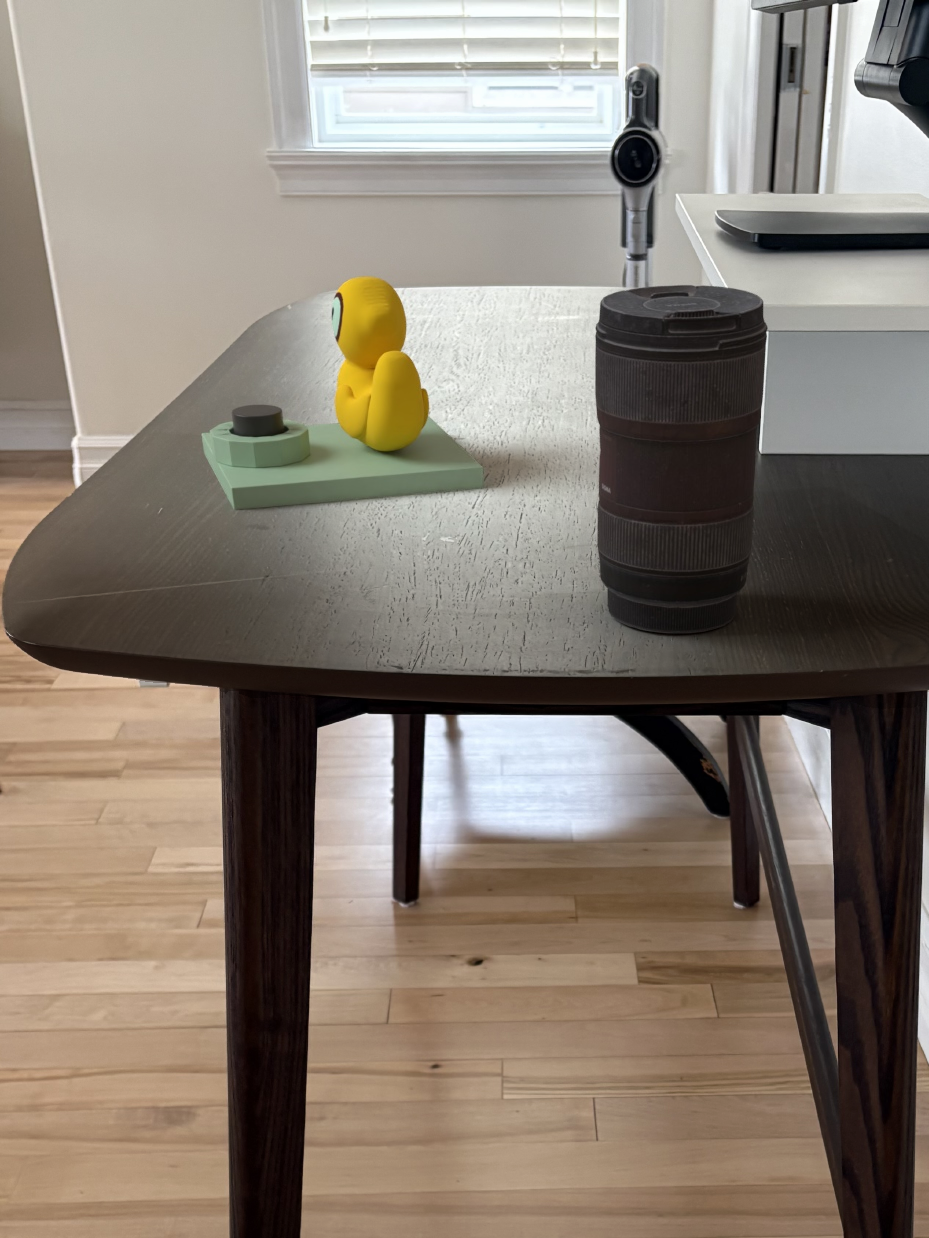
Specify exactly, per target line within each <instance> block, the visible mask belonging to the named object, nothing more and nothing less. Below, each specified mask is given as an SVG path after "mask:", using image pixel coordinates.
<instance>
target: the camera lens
mask: <svg viewBox="0 0 929 1238" xmlns="http://www.w3.org/2000/svg"><path fill="white" fill-rule="evenodd" d="M598 318H599V319H598V322H597V323H596V325H595V331H596V332H595V336H594V337H595V351H594V352H595V353H594V354H595V355H594V356H595V357H594V359H595V360H594V363H595V364H594V365H595V366H594V368H595V369H594V370H595V372H594V375H595V378H594V379H595V380H594V381H595V384H594V385H595V386H594V388H595V389H594V392H595V408H596V409H595V410H596V418H597V422H598V425H599V429H598V430H599V433H598V434H599V457H598V460H599V461H598V462H599V463H598V503H597V529H596V530H597V532H596V533H597V534H596V535H597V543H596V544H597V552H598V559H599V576H600V581H601V582H602V583H603V585H604V586H605V588H606V590H607V591H606V592H607V595H606V596H607V611H608V612H609V614H610V616H611V617H612V618H613V619H615V620H616V621H617V622H619V623H621V624H623V625H625V626H627V627H630V628H634V629H638V630H641V631H647V632H652V633H653V632H654V633H663V634H693V633H695V634H696V633H702V632H709V631H712V630H715V629H718V628H719V629H720V628H722V627H724V626H726V625H727V624H729V623H730V622H732V620H733V619H734V618H735V616H736V613H737V603H738V594H739V593H740V592H741V591H742V589H743V588H744V587H745V586H746V583H747V576H748V569H749V568H748V567H749V561H750V558H751V552H752V547H753V546H752V545H753V536H754V517H755V516H754V515H755V514H754V513H755V510H754V509H755V508H754V493H755V492H754V488H755V478H756V477H755V474H756V453H757V432H758V426H759V425H760V422H761V418H762V414H761V413H762V411H761V409H762V407H763V406H762V405H763V401H764V389H765V388H764V387H765V384H764V383H765V368H766V367H765V366H766V350H767V349H766V348H767V340H768V333H767V331H768V330H769V329H768V325H767V323H766V321H765V317H764V300H763V299H762V297H760V295H758V294H757V293H756V294H755V293H753V292H750V291H747V290H743V289H739V288H735V287H726V286H718V285H692V284H678V285H676V284H675V285H657V286H656V285H655V286H645V287H644V286H643V287H635V288H631V289H627V290H623V289H622V290H618V291H615V292H612V293H610V294H609V293H608V294H607V295H604V296H603V298H602V299H601V300H600V303H599V317H598Z"/></svg>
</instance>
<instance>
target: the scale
mask: <svg viewBox="0 0 929 1238" xmlns="http://www.w3.org/2000/svg"><path fill="white" fill-rule="evenodd" d="M283 422H284V432H285V433H283V434H279V435H275V436H267V437H242V436H237V435H234V428H233V420H231V421H227V422H222V423H219V424H218V425H216V426H214V427H213V428H211V429H210V430H209V432H202V433H201V437H202V438H201V441H202V449H203V454H204V456H205V457H206V460H207V462H208V463H209V466H210V467H211V469H212V471H213V473H214V475H215V477H216V479H217V480H218V482H219V484H220V486H221V488H222V490H223V492H224V493H225V496H226V498H227V499H228V501H229V503H230V505H231V507H232V510H234V511H236V510H248V509H260V508H273V507H283V506H284V507H285V506H294V505H295V506H297V505H306V504H316V503H327V502H328V503H329V502H339V501H351V500H352V501H353V500H363V499H373V498H374V499H375V498H385V497H387V498H388V497H396V496H398V497H399V496H407V495H408V496H409V495H410V496H411V495H418V494H419V495H420V494H431V493H442V492H454V491H465V490H477V489H484V488H485V486H484V484H485V483H484V467H483V466H482V464H480V463H479V462H478V461H477V460H476V459H475V458H474V457H473V456H472V455H471V454H470V453H469V452H468V451H467V450H465V448H464V447H462V446H461V445H460V444H459V443H458V442H457V441H456V440H455V439H454V438H453V437H451V435H450V434H448V433H447V432H446V430H444V429H443V428H442V427H441V426H440V424H438V423H437V422H436V421H435V420H434V419H433V418H431V416H429V415H428V419H427V422H426V424H425V426H424V427H423V429H422V430H421V432H420V434H419V436H418V437H417V439H416V440H415V441H414V442H413V443H411V444H410V445H408V446H407V447H405V448H403V449H399V450H395V451H379V450H375V449H373V448H371V447H369V446H367V445H365V444H364V443H362V442H360V441H359V440H358V439H354V438H352V437H350V436H349V435H348V434H347V433H346V432H345V431H344V430H343V429H342V428H341V426H340V424H339V422H336V423H335V422H334V423H333V422H332V423H322V424H321V423H319V424H308V425H307V424H305V423H302V422H299V421H296V420H292V419H286V418H283Z"/></svg>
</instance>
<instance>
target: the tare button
mask: <svg viewBox="0 0 929 1238" xmlns="http://www.w3.org/2000/svg"><path fill="white" fill-rule="evenodd" d="M231 419H232V421H233V428H234V435H237V436H242V437H267V436H275V435H279V434H283V433H285V432H284V422H283V419H284V414H283V409H282V408H281V407H279V406H276V405H272V404H247V405H243V406H239V407H235V408H234V409H232V410H231Z"/></svg>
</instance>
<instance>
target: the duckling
mask: <svg viewBox="0 0 929 1238" xmlns="http://www.w3.org/2000/svg"><path fill="white" fill-rule="evenodd" d="M331 327H332V331H333V335H334V339H335V341H336V343H337V346H338V348H339V350H340V351H341V353H342V355H343V357H344V361H343V362H342V364H341V365H340V368H339V371H338V374H337V379H336V391H335V395H334V411H335V416H336V419H337V423H339V424H340V426H341V428H342V429H343V430H344V431H345V432H346V433H347V434H348V435H349V436H350V437H352V438H354V439H358V440H359V441H360V442H362V443H364V444H365V445H367V446H369V447H371V448H373V449H375V450H379V451H395V450H399V449H403V448H405V447H407V446H408V445H410V444H411V443H413V442H414V441H415V440H416V439H417V437H418V436H419V434H420V432H421V430H422V429H423V427H424V426H425V424H426V422H427V419H428V416H429V414H430V399H429V394H428V391H427V389H426V388H423V387H422V384H421V377H420V374H419V372H418V369H417V367H416V365H415V363H414V361H413V359H412V358H411V357H410V356H409V355H408V354H407V353H405V352H403V351H402V350H403V348H404V344H405V342H406V336H407V317H406V311H405V308H404V304H403V302H402V300H401V298H400V296H399V294H398V292H397V290H396V289H395V288H394V287H393V285H391V284H390V283H389V282H387V281H386V280H384V279H382V278H380V277H376V276H357V277H356V276H355V277H352V278H350V279H348V280H346V281H345V282H343V283H342V284H341V285H340V286H339V288H338V289H337V291H336V292H335V295H334V297H333V301H332V305H331Z"/></svg>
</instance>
